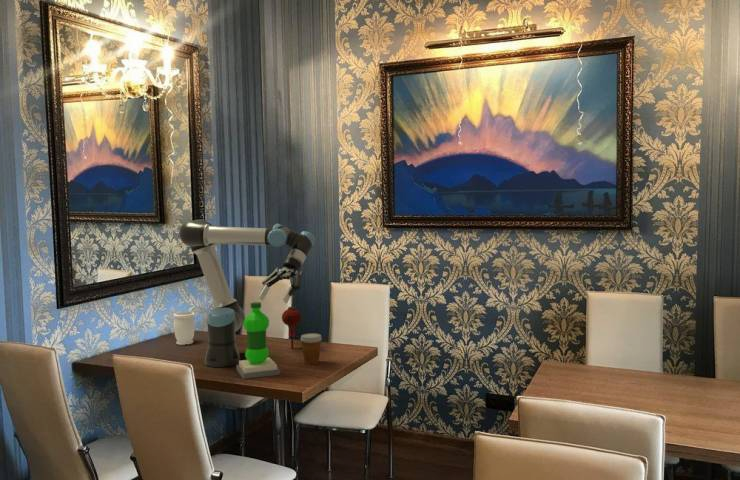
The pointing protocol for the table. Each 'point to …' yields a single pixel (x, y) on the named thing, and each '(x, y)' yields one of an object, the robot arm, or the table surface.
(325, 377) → the table surface
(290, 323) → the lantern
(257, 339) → the plastic bottle
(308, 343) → the disposable coffee cup
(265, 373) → the stepped plinth
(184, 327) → the jar
